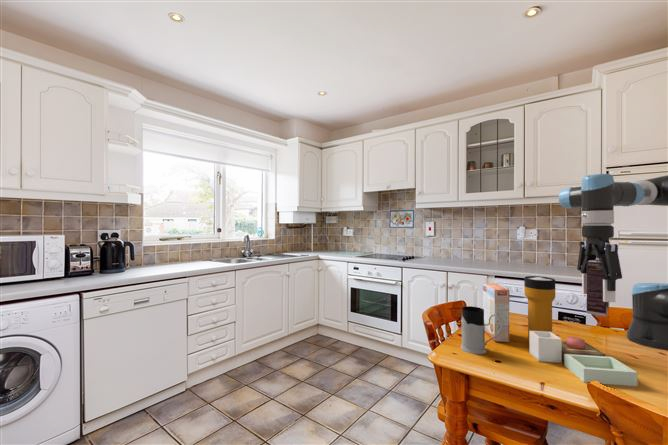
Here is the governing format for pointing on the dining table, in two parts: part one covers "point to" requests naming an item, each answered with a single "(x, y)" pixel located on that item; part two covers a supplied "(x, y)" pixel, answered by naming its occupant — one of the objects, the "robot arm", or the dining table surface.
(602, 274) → the supplement box
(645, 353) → the dining table surface
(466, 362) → the dining table surface
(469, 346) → the glass holder
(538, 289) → the flashlight
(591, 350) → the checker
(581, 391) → the dining table surface
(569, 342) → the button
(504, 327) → the cracker box
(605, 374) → the trough
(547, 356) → the open box
